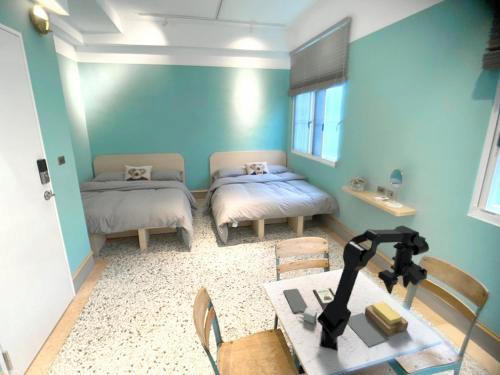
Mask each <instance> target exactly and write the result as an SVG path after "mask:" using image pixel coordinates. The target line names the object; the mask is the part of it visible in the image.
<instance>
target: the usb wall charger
mask: <svg viewBox="0 0 500 375" xmlns="http://www.w3.org/2000/svg"><path fill="white" fill-rule="evenodd" d="M300 311H303V312H302V313H300V312H299V313H298V314H299V315H301V316H303V321H306V322H308V323H310V324H313V325H315V322H316V321H317V318H318V316H317V314H318V311H317V310H314V309H312V308H309V307H308V308H306V310H305V311H304V310H302V309H300Z"/></svg>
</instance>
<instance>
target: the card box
mask: <svg viewBox="0 0 500 375" xmlns="http://www.w3.org/2000/svg"><path fill="white" fill-rule="evenodd" d="M372 305H373V306H372V309H373V310H374V311H375V312H376V313H377V314H379V315H380V316H381V317H382V318H383V319H384V320H385V321H386V322H387V323H388V324H389V325H390V324H393V323H396V322H399V321H401V320H402V317H403V316H402V315H401V314H400V313H398V311H396V310H395V309H393V308H392V306H390V305H389V304H388V303H387V302H385V301H384V300H383V301H381V302H380V301H379V302H377V303H373V304H372Z"/></svg>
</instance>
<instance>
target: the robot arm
mask: <svg viewBox="0 0 500 375" xmlns="http://www.w3.org/2000/svg"><path fill="white" fill-rule="evenodd" d="M367 241H369V242H371V245H370V247H369V248H366V247H364V246H362V245H360V244H362V243H364V242H367ZM389 243H391V244H392V243H395V244H394V245H392V247H393V248H394V249H395V255H394V256H392V257H391V260H392V261H393V264H392V265H390V269H391V270H392V271H390V270H388V269H384V270H381V271H379V272H377V278H378V279H379V280H381V281H382V282H383V284H384V287H385V289H386V291H387V293H388V294H390V295H391V294H392V291H393V289H394V286H395V285H398V282H399V278H401V277H402V284H403V287H404V288H408V286H409V285H410V284H412V285H413V286H417V285H420V284H422V283H423V282H424V280H427V279H428V270H427V269H426V268H422V266H420V265H419V264H417V263H415V262H414V260H413V256H419V255H423V254H424V253H428V252H429V249H430V247H429V244H428V242H427V241H426V237H423V236H421V235H420V232H419V231H416V229H412V228H410V227H408V226H406V225H399V226H396V227H395V228H394V229H370V228H368V229H366V230H365V231H364V232H363V233H361V234H358V235H356V236H353V237H352V238H351V239H350V240H349V241H348V242H347V243H346V244H345V245H344V248H343V253H342V259H343V264H344V266H343V269H342V272H341V276H340V278H339V281H338V284H337V287H336V291H335V293H334V294H335V296H334V299H333V300H332V301H331V302H329V303H328V304H327V306H326V308H325V309H324V310H323V309H322V312H320V314H319V316H317V318H316V321H317V322H318V323H319V324H320V325H321V331H320V332H319V346H320V347H323V348H327V349H330V350H335V351H338V349H339V347H338V346H339V342H338V341H339V340H338V337H340V336H343V334H344V333H345V330H346V329H347V328H346V327H347V325H348V324H347V323H348V322H349V318H350V316H352V311H351V310H350V309H349V308H348V305H349V301H350V298H351V297H352V296H351V295H352V293H353V290H354V286H355V284H356V282H357V278H358V276H359V272H360V271H362V270H363V269H365V267H366V266H367V265H368V263H369V261H370V260H372V258H374V257H375V255H376V253H377V249H378V247H379V245H380V244H389Z"/></svg>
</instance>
